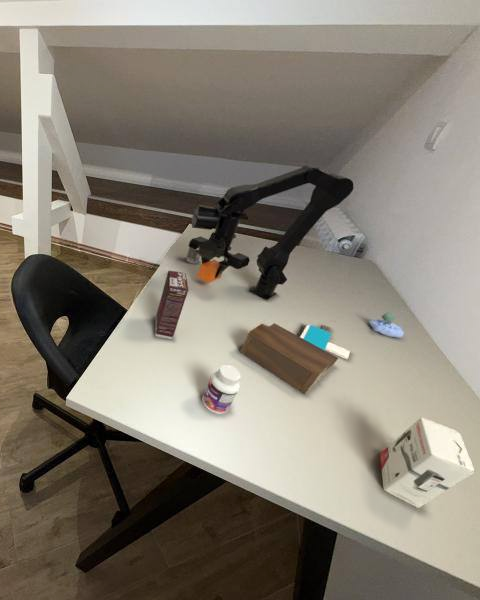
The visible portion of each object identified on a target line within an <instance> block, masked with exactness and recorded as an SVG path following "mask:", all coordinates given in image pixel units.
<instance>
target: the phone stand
mask: <svg viewBox="0 0 480 600" xmlns="http://www.w3.org/2000/svg"><path fill="white" fill-rule="evenodd" d="M330 329H331V327H329V326H327V325H323V326H322V328H321V327H318V326H315V325H313V324H311V325H309V324H303V325H302V326H301V329H300V330H299V331H298V333H297V334H296V335H297V336H299V337H301V338H303V339H304V340H306V341H308V342H310V343H312V344H314V345H315V346H317V347H319V348H321V349H323V350H325V351H326V352H328V353H330V354H332V355H334V356H337V357H340V358H342V359H344V360H348V359H349V357H350V354H351V350H348V349H347V348H344V347H342V346H339V345H337V344H335V343H332V342H330V338H331V336H332V333H331V332H329V331H330Z"/></svg>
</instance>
